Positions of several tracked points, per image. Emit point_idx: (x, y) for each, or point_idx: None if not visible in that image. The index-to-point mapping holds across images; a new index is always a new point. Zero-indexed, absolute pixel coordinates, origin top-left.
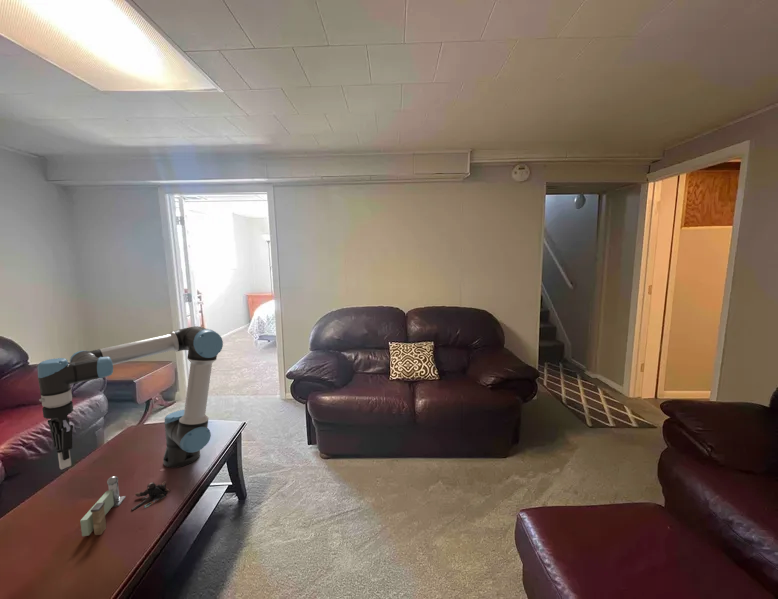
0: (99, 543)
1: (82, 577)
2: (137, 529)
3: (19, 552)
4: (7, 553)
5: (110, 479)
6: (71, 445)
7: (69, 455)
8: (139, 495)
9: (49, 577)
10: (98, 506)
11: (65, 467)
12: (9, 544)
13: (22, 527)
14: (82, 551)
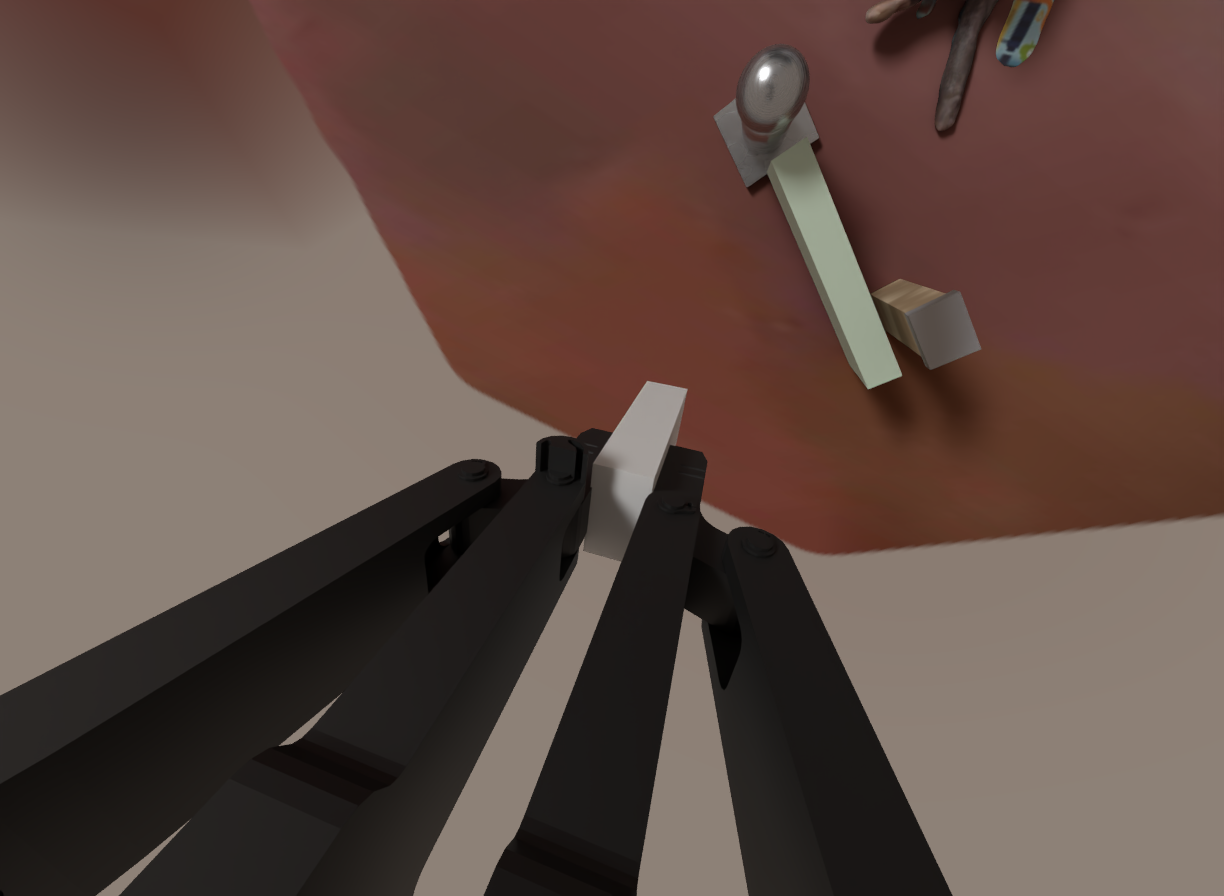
0: None
1: (1049, 485)
2: (1120, 224)
3: None
4: None
5: (779, 107)
6: (805, 600)
7: (668, 437)
8: (904, 8)
9: (903, 505)
10: (953, 332)
11: (678, 431)
12: None
13: (545, 387)
14: (918, 404)
